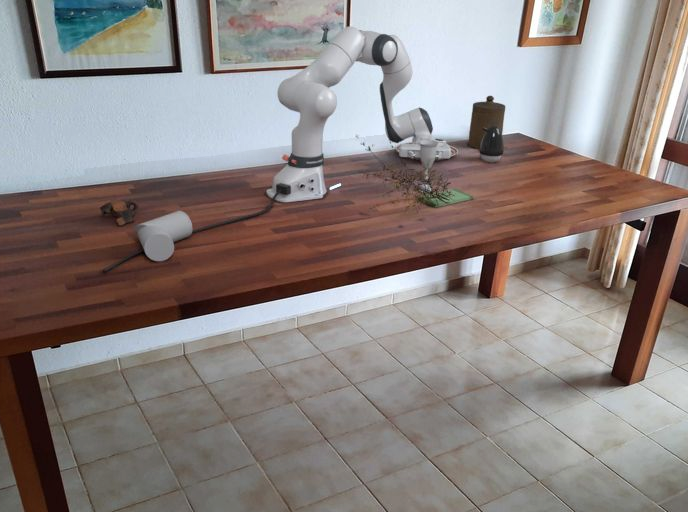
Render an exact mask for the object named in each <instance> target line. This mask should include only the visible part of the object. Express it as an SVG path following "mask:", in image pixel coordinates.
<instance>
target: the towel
mask: <svg viewBox="0 0 688 512" xmlns="http://www.w3.org/2000/svg"><path fill="white" fill-rule="evenodd" d="M451 190H452V191H451ZM441 191H442V190H441ZM445 191H446V192H447V191H448V192H451V193H450V194H452V195H450V196H452V197H449V198H448V197H445V198H447V199H449V201H448V200H446V199H442V198H441V199H442V200H443V201H445V202H448V204H446V203H444V202H443V201H441V200H440V201H441V202H439V199H438V198H436V200H438V203H437V202H436V201H435V199H430V198H429V200H428V199H427V198H424V199H423V200H422V199H421V200H420V202H421V201H424V200H425V201H424V202H423V204H425V203H426V204H425V205H428V206H431V207H433V208H439V207H444V206H449V205H452V204H457V203H461V202H465V201H470V200H473V198H474V196H473V195H472V194H469V193H467V192H465V191H462V190H460V189H457V188H451V189H447V190H446V189H445V190H444V192H443V191H442V192H440V191H439V192H438V191H437V192H438V193H441V194H442V193H443V194H445V193H446V192H445ZM433 193H434V194H436V193H435V192H433ZM438 193H437V194H438ZM434 194H433V195H434ZM441 194H439V195H441ZM445 195H447V196H448V195H449V193H447V194H445ZM453 195H455V196H453ZM426 196H427V194H426ZM435 196H436V195H435ZM441 196H442V195H441ZM422 197H423V196H422ZM429 197H430V196H429ZM431 197H432V196H431ZM443 197H444V196H443ZM420 198H421V197H420ZM450 198H451V199H450ZM452 199H453V200H452ZM430 200H431V201H432V202H431V201H430ZM454 200H455V201H454ZM427 201H428V202H427ZM429 201H430V203H429Z"/></svg>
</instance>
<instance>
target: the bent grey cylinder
mask: <svg viewBox="0 0 688 512" xmlns="http://www.w3.org/2000/svg"><path fill="white" fill-rule="evenodd" d="M133 230H134V232H135V233H136V234H137V237H138V240H139V241H140V244H141V247H142V249H144V253H145V255H146V257H147V258H148V259H150V260H151V261H154V262H164V261H167V260H168V259H169V258H171V256H173V254H174V251H175V243H176V242H179V241H181V240H184V239H186V238H188V237H191V236H192V234H193V233H192V230H193V223H192V221H191V218H190V217H189V215H188V214H187V213H186V212H184V211H182V210H177V211H174V212H171V213H168V214H165V215H161V216H160V217H156V218H154V219H151V220H150V219H149V220H147V221H145V222H142V223H139V224H136V225H134V226H133Z"/></svg>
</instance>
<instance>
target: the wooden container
mask: <svg viewBox="0 0 688 512" xmlns="http://www.w3.org/2000/svg"><path fill="white" fill-rule="evenodd" d="M485 99H486V100H485V101H476V102H473V103H472V109H471V110H472V112H471V116H470V117H471V118H470V124H469V125H470V126H469V134H468V143H467V144H468V146H469V147H471V148H474V149H478V150H479V149H480V145H481V142H482V139H483V136H484V134H485V132H486V131H484V130H482V127H484V128H487V129H488V128H489V127H490V126H492V125H496V126H498V127H499V128H500V130H501V133H502V134H503V133H504V130H503V129H504V123H505V113H506V105H505V104H503V103H500V102H495V101H494V100H495V96H493V95H488V96H486V98H485Z"/></svg>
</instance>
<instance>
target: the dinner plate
mask: <svg viewBox="0 0 688 512" xmlns="http://www.w3.org/2000/svg"><path fill="white" fill-rule="evenodd" d="M401 144H412V141H410V142H409V141H408V142H403V143H398V144H397V145H396V146H394V147H395V148H394V150H395V149H396V153H397V152H398V153H399V150H398V147H399V146H400V145H401ZM449 146H450V148H451V156H450V158H452V157H454V156H456V155H457V154H458V153H459V149H457V148H456V147H454V146H452V145H449ZM407 158H408V159H411V157H407ZM414 160H415V161H420V162H421V159H419V158H415V159H414ZM438 161H439V162H440V161H444V159H440V160H437V159H436V158H435V160H434V162H438Z"/></svg>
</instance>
